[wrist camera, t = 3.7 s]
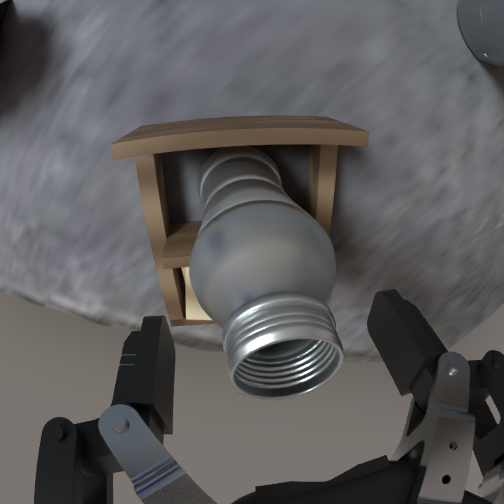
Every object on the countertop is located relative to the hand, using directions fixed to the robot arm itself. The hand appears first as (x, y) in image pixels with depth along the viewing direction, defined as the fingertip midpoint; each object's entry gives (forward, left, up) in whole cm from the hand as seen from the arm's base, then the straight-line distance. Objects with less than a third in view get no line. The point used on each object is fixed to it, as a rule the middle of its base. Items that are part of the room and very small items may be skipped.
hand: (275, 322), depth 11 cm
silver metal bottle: (0, 0, -18) cm, 18 cm away
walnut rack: (+5, 0, -18) cm, 18 cm away
